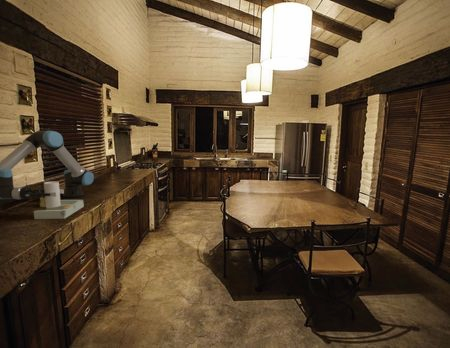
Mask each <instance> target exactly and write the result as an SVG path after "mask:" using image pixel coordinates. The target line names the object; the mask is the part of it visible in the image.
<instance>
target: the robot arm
mask: <svg viewBox="0 0 450 348" xmlns="http://www.w3.org/2000/svg"><path fill="white" fill-rule="evenodd" d="M64 145H65V143H64V138H63V136H62V134H61V133H59V132H57V131H54V130H37V131H35V132H32V133H31V134H30V135H28V136H27V137H26V138H25V139H23V140H22V143H21V144H20V145H18V147H16V148H15V149H13V151H12V152H11V153H9V154H8V155H7V156H5V157H4V158H3V159H2V160H0V200H29V199H31V198H39V199H40V198H41V197H43V198H45V197H56V196H57V195H56V192H44V188H38V189H36V188H35V189H32V188H31V187H30V186H29V187H27V186H26V187H22V186H20V187H19V186H18V187H16V186H15V187H14V175H13V168H15V166H17V165H18V164H19V163H20V162H22V160H23V159H25V158H26V157H27V156H28V155H29V154H30V153H31V152H33V151H36V150H37V149H39V148H41V147H44V148H45V149H46V150H47V151H48V152H50V153H53V155H55V156H56V157H57V158H58V160H59V161H60V162H61V163H62V164H63V165H64V166H65V167H66V169H65V170H64V171H63V179H64V180H63V181H64V188H63V189H62V188H59V190H60V195H61V194H63V195H62V196H63V198H76V197H81V196H83V195H84V192H83V189H82V187H81V186H90V185H91V184H92V183H93V182H94V179H95V176H94V173H93V172H92V171H88V170H87V168H85V167H84V166H81V165H80V163H79V162H78V161H77V160H76V158H74V157H73V155H72V154H71V153H70V152H69V150H67V148H66V147H65V146H64Z"/></svg>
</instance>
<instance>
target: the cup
mask: <svg viewBox="0 0 450 348" xmlns="http://www.w3.org/2000/svg"><path fill="white" fill-rule="evenodd" d="M43 189H44V192H56V195H57V196H56V197H45V204H46V207H45V209H46V208H55V207H59V206H61V203H60V200H61V194H60V190H59V189H60V183H59V181H45V182H43Z"/></svg>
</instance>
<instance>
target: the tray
mask: <svg viewBox="0 0 450 348" xmlns="http://www.w3.org/2000/svg"><path fill="white" fill-rule="evenodd" d="M60 203H61V206H59V207H55V208H46V207H45V210H44V209H43V210H42V209H40V210H38V209H37V210H34V211H33V218H34V220H59V219H60V220H61V219H62V220H63V219H66V218H68V217H70V216H71V215H73V214H74V213H76V212H77V211H79V210H81V209H82V208H84V206H85V205H84V199H60Z"/></svg>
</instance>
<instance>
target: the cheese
mask: <svg viewBox="0 0 450 348" xmlns="http://www.w3.org/2000/svg"><path fill="white" fill-rule="evenodd" d="M39 201H40V203H39V207H40V208H46V204H45V198H43V197H41V198H40V197H39Z"/></svg>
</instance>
